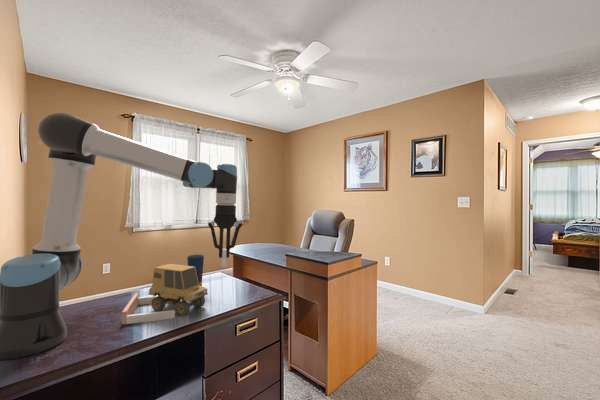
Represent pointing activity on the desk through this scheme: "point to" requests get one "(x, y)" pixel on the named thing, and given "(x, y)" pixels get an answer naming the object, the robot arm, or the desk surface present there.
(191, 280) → the toy car
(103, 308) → the desk surface
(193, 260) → the cup
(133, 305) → the bay
